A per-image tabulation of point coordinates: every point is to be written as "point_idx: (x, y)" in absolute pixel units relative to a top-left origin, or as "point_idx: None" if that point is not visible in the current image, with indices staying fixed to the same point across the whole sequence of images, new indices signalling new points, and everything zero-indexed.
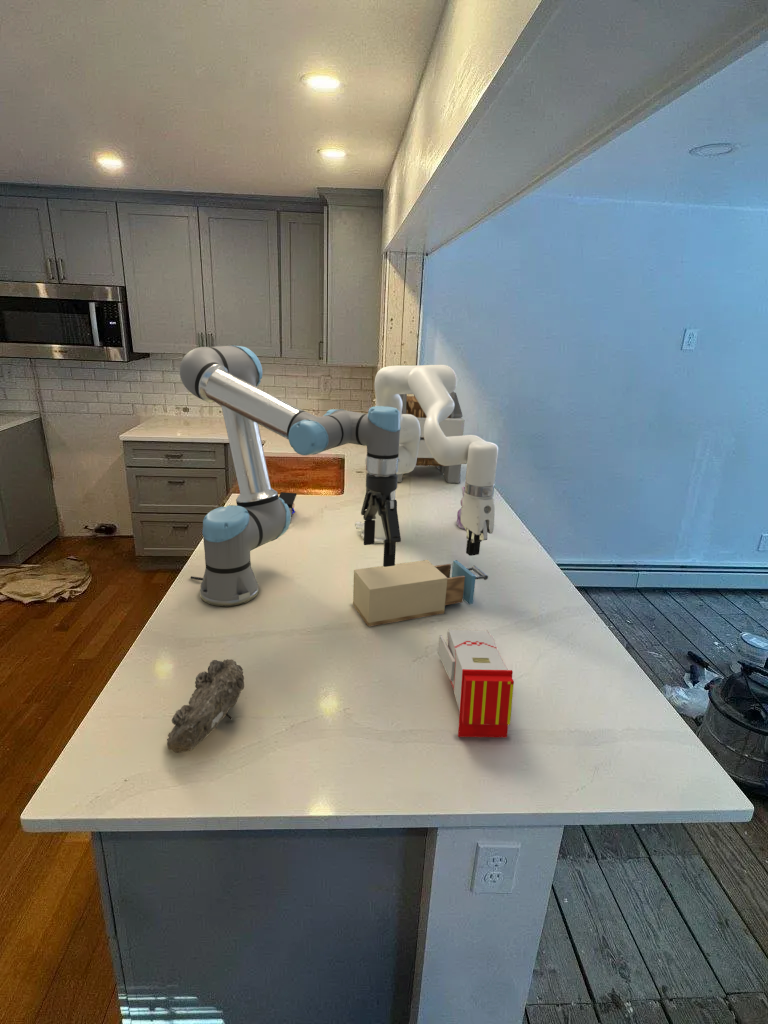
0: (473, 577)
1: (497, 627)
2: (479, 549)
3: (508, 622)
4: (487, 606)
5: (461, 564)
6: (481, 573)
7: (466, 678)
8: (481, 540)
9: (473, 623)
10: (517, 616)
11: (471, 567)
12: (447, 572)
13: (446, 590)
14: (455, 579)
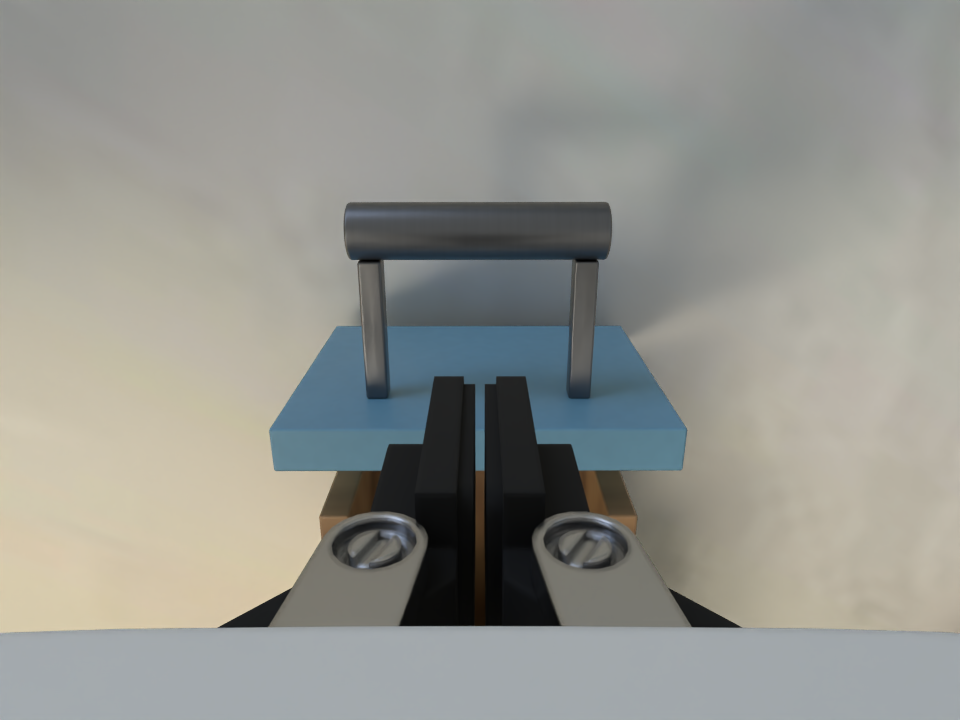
0: (681, 448)
1: (912, 297)
2: (528, 405)
3: (905, 184)
4: (650, 206)
5: (389, 435)
6: (546, 254)
7: None
8: (638, 550)
9: (794, 415)
10: (877, 59)
11: (362, 269)
12: (365, 500)
13: None
14: None
